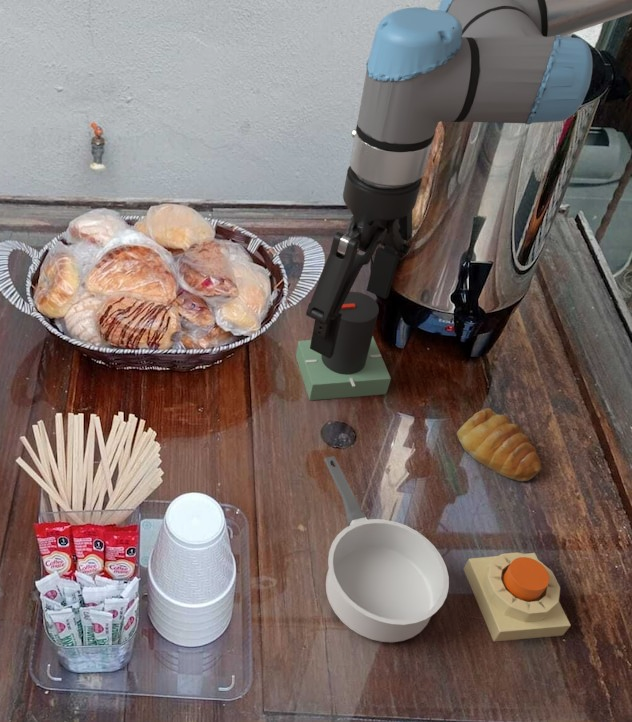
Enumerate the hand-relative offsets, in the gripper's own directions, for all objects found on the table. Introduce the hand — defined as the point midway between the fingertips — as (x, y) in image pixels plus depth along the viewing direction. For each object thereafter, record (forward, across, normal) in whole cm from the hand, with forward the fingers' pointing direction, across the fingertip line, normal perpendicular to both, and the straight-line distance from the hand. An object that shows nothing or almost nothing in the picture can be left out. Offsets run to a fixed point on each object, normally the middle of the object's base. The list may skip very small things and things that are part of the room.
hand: (350, 321), depth 95 cm
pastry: (+10, -1, +21) cm, 23 cm away
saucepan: (+10, +22, +16) cm, 29 cm away
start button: (+6, +17, +30) cm, 35 cm away
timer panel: (+10, 0, 0) cm, 10 cm away
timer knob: (+6, 0, 0) cm, 6 cm away
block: (+9, +17, +30) cm, 36 cm away
